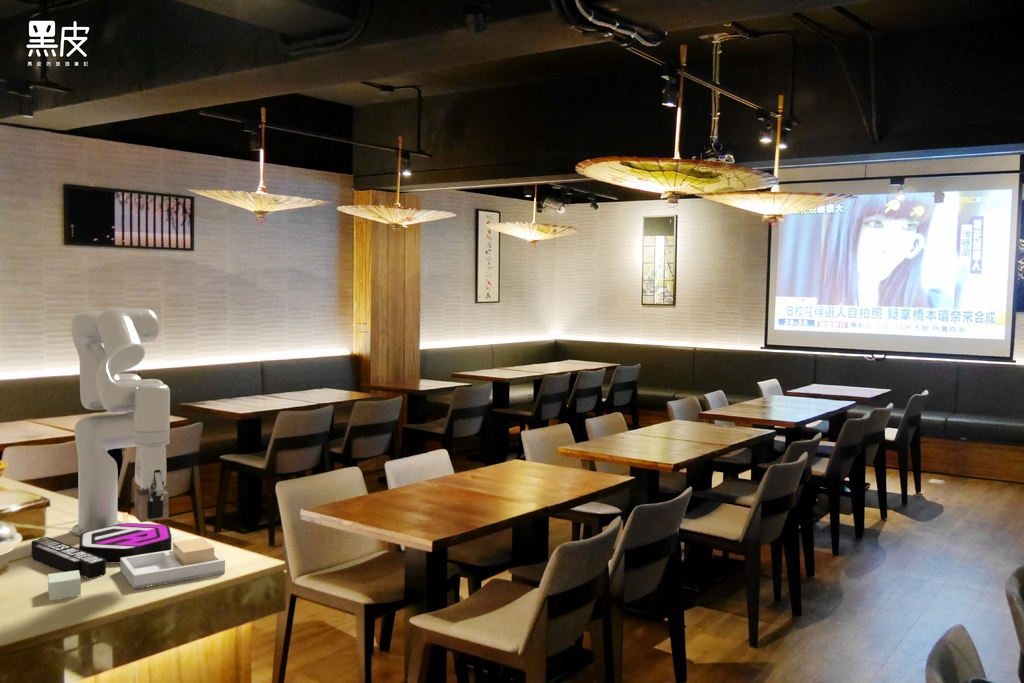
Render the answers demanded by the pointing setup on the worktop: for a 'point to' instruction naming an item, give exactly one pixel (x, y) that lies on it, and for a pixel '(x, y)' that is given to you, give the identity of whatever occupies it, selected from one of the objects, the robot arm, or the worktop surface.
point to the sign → (102, 547)
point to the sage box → (64, 584)
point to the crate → (173, 564)
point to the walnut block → (142, 505)
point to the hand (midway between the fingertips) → (151, 513)
